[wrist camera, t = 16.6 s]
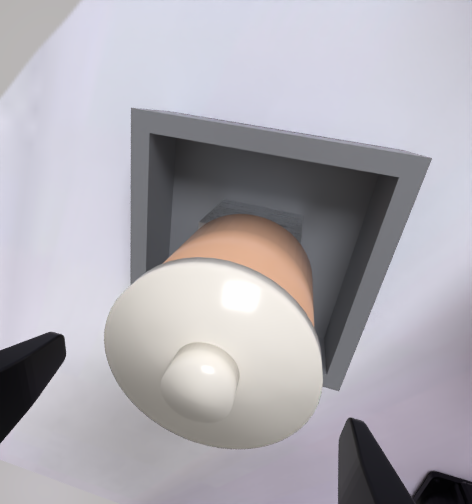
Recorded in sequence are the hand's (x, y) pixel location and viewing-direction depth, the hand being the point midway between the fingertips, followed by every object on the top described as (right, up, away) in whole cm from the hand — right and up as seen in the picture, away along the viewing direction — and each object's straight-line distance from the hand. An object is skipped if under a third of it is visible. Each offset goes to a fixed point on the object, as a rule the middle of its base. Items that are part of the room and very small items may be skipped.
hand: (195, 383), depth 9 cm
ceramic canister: (+2, +3, +6) cm, 7 cm away
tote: (+3, +5, +12) cm, 13 cm away
